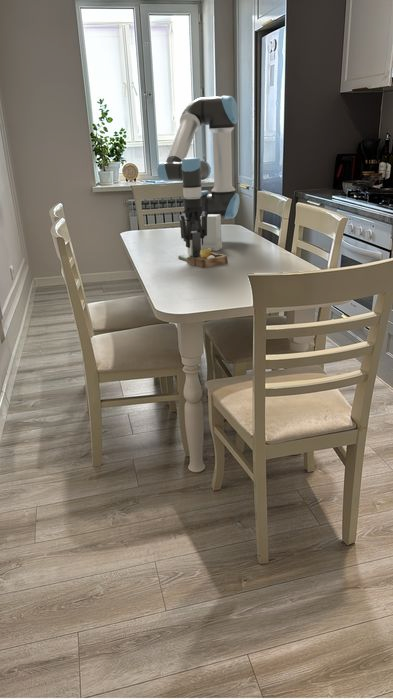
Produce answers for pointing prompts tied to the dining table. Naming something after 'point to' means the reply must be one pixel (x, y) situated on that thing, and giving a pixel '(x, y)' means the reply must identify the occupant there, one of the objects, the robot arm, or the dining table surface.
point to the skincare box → (213, 233)
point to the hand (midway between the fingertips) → (195, 253)
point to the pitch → (205, 260)
